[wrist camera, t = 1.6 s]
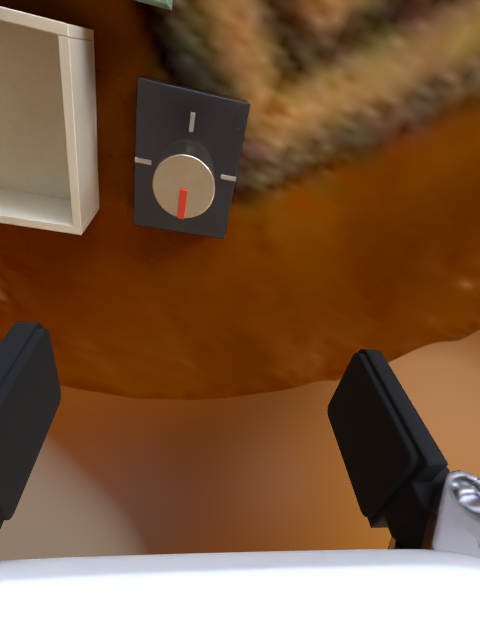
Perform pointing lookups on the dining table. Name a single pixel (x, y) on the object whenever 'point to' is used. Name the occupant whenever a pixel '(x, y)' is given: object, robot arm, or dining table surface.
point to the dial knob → (184, 180)
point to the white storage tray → (47, 123)
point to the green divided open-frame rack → (159, 3)
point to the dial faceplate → (193, 125)
